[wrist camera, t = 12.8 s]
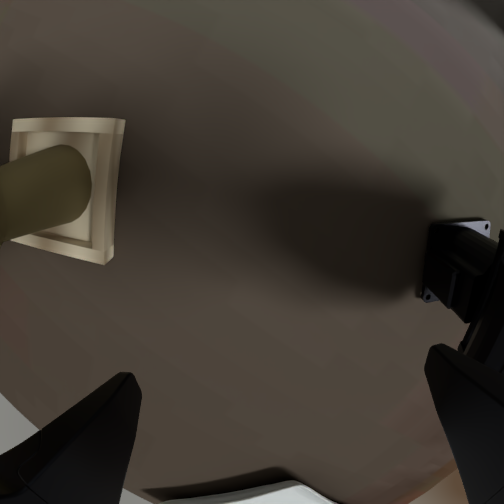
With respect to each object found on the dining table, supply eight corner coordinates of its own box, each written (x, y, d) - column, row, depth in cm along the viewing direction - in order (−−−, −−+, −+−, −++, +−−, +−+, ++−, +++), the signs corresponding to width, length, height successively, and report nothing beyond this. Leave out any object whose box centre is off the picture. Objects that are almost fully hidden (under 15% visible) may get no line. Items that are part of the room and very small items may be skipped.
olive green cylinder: (23, 177, 18) (-82, 212, 8) (67, 127, 17) (-54, 136, 7) (57, 237, 20) (-41, 303, 10) (106, 194, 19) (-9, 247, 8)
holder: (125, 119, 17) (115, 118, 16) (113, 256, 21) (104, 265, 19) (25, 119, 17) (13, 119, 15) (21, 234, 20) (10, 240, 19)
